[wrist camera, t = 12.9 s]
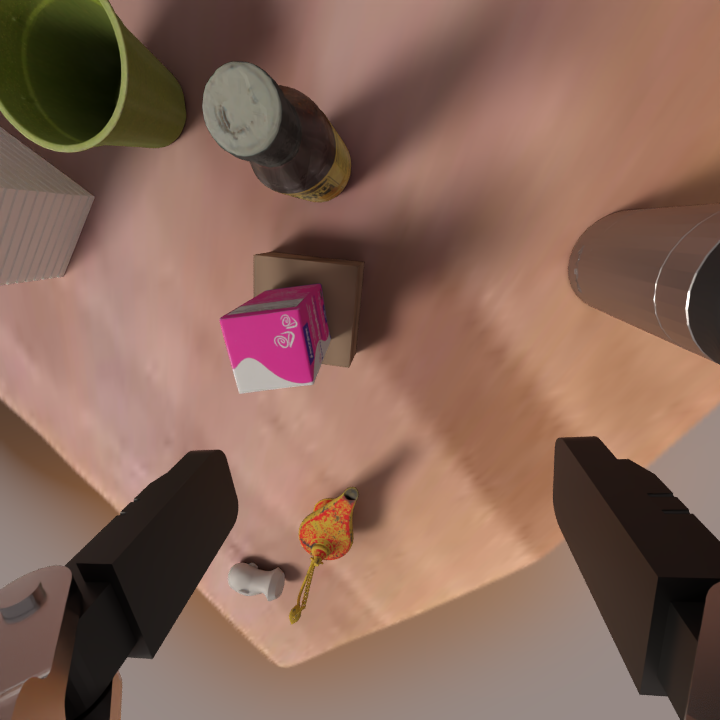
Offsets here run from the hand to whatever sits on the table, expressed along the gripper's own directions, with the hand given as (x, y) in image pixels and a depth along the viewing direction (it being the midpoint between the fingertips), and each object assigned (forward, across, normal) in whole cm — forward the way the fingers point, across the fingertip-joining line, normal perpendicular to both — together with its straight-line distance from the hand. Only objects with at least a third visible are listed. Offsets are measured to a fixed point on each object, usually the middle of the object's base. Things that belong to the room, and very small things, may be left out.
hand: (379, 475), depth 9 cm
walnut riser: (+32, +10, +1) cm, 34 cm away
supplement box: (+27, +10, +1) cm, 29 cm away
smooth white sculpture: (+32, +25, +40) cm, 57 cm away
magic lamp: (+32, +12, +28) cm, 44 cm away
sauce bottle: (+32, +7, -12) cm, 35 cm away
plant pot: (+32, +23, -20) cm, 44 cm away
